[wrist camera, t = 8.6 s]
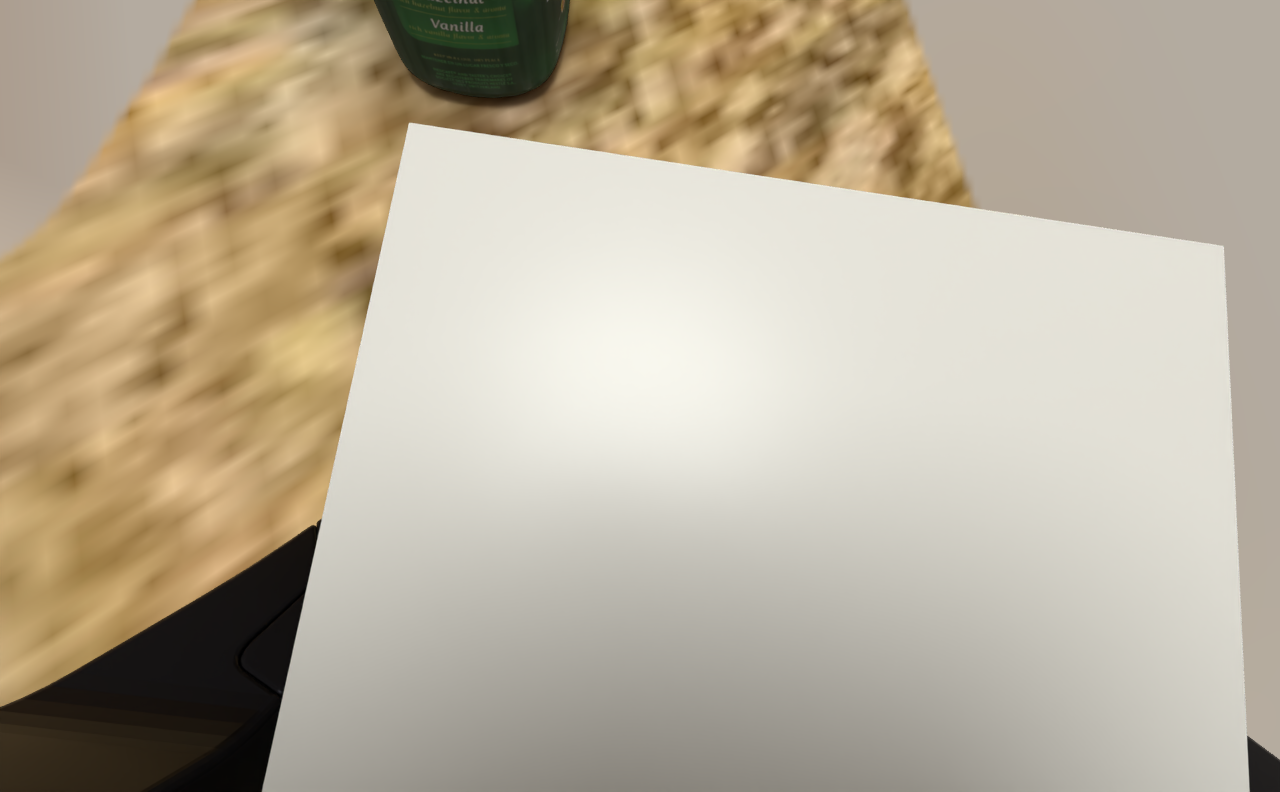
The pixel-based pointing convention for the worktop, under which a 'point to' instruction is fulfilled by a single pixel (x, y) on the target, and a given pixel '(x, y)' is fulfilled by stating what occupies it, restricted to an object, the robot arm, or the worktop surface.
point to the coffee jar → (478, 42)
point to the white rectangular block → (768, 496)
